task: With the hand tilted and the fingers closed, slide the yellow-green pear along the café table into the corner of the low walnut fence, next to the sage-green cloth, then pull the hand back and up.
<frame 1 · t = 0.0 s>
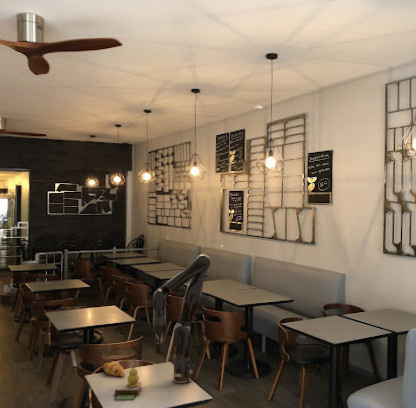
hand: (159, 351, 265), 17 cm above the table, tool pointing down, fingers open, 8 cm apart
pear: (133, 385, 258), on the table
croissant: (113, 373, 276), on the table
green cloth: (125, 398, 241), on the table
corner fence: (126, 395, 244), on the table
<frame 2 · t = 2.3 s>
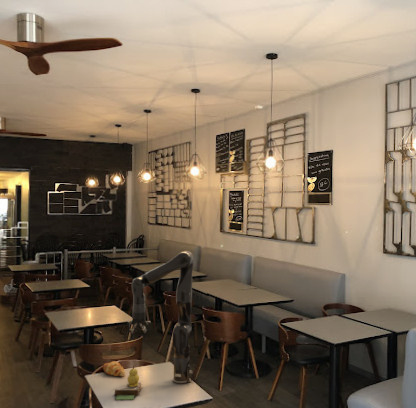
hand: (138, 338, 271), 23 cm above the table, tool pointing down, fingers open, 6 cm apart
nothing on the table moved.
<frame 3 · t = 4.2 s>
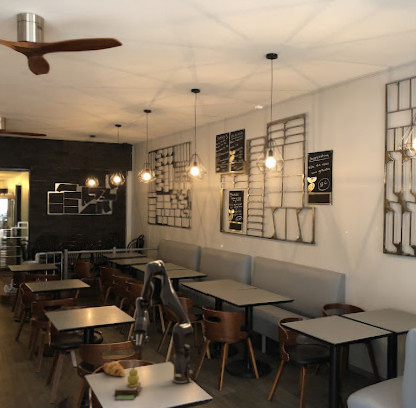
hand: (137, 351, 274), 14 cm above the table, tool tilted 45°, fingers closed
nothing on the table moved.
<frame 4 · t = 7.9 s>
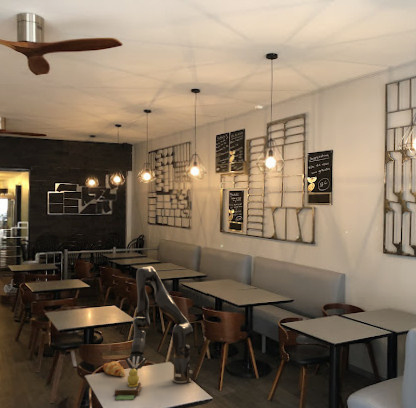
hand: (134, 375, 262), 5 cm above the table, tool tilted 45°, fingers closed
pear: (133, 385, 258), on the table, touching gripper
everything else where it was.
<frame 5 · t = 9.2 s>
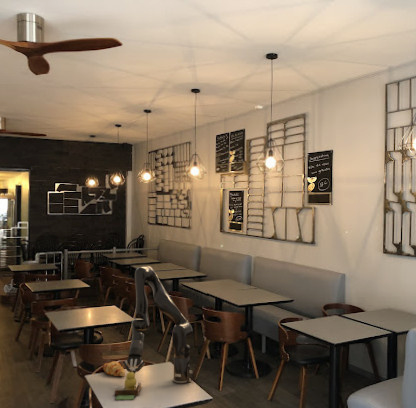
hand: (131, 378, 257), 5 cm above the table, tool tilted 45°, fingers closed
pear: (130, 388, 253), on the table, touching gripper
everything else where it was.
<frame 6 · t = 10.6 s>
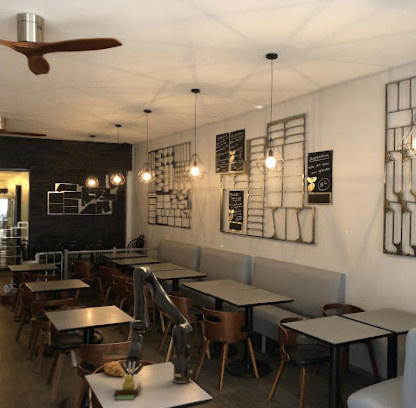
hand: (129, 381, 252), 5 cm above the table, tool tilted 45°, fingers closed
pear: (128, 391, 249), on the table, touching gripper
everything else where it was.
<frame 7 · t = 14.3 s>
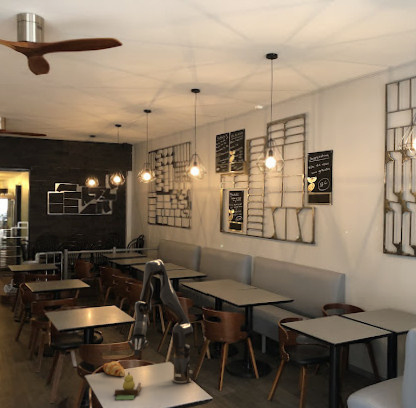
hand: (136, 356, 269), 13 cm above the table, tool tilted 45°, fingers closed
pear: (128, 391, 249), on the table
everything else where it was.
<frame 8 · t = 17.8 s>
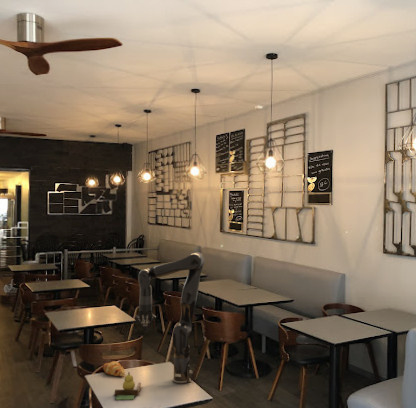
hand: (145, 332, 270), 27 cm above the table, tool pointing down, fingers closed
nothing on the table moved.
at the end: pear 1.3 cm from the target spot, on the table; pear tilted 0° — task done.
